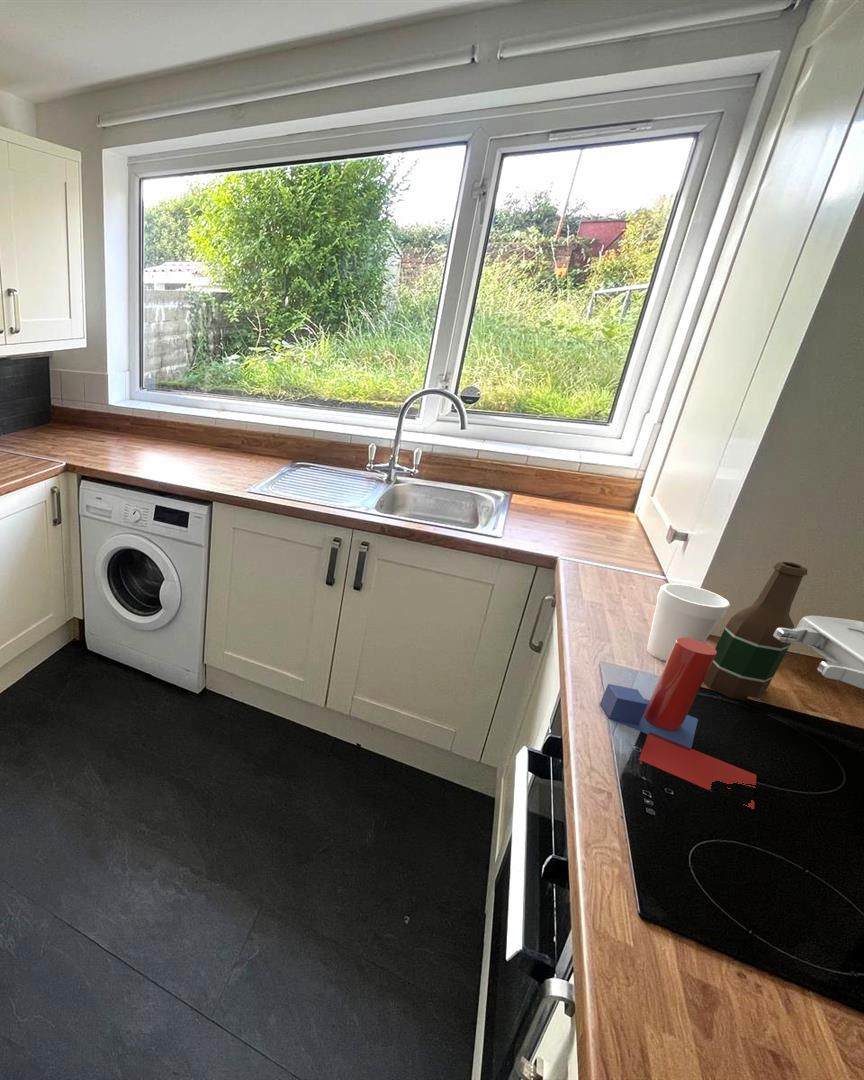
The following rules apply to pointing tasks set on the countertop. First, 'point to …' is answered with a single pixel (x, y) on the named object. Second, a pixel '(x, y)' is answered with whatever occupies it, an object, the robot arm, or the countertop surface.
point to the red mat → (693, 765)
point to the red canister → (679, 683)
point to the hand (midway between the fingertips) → (798, 650)
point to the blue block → (623, 704)
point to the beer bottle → (756, 638)
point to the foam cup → (683, 616)
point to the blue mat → (680, 737)
